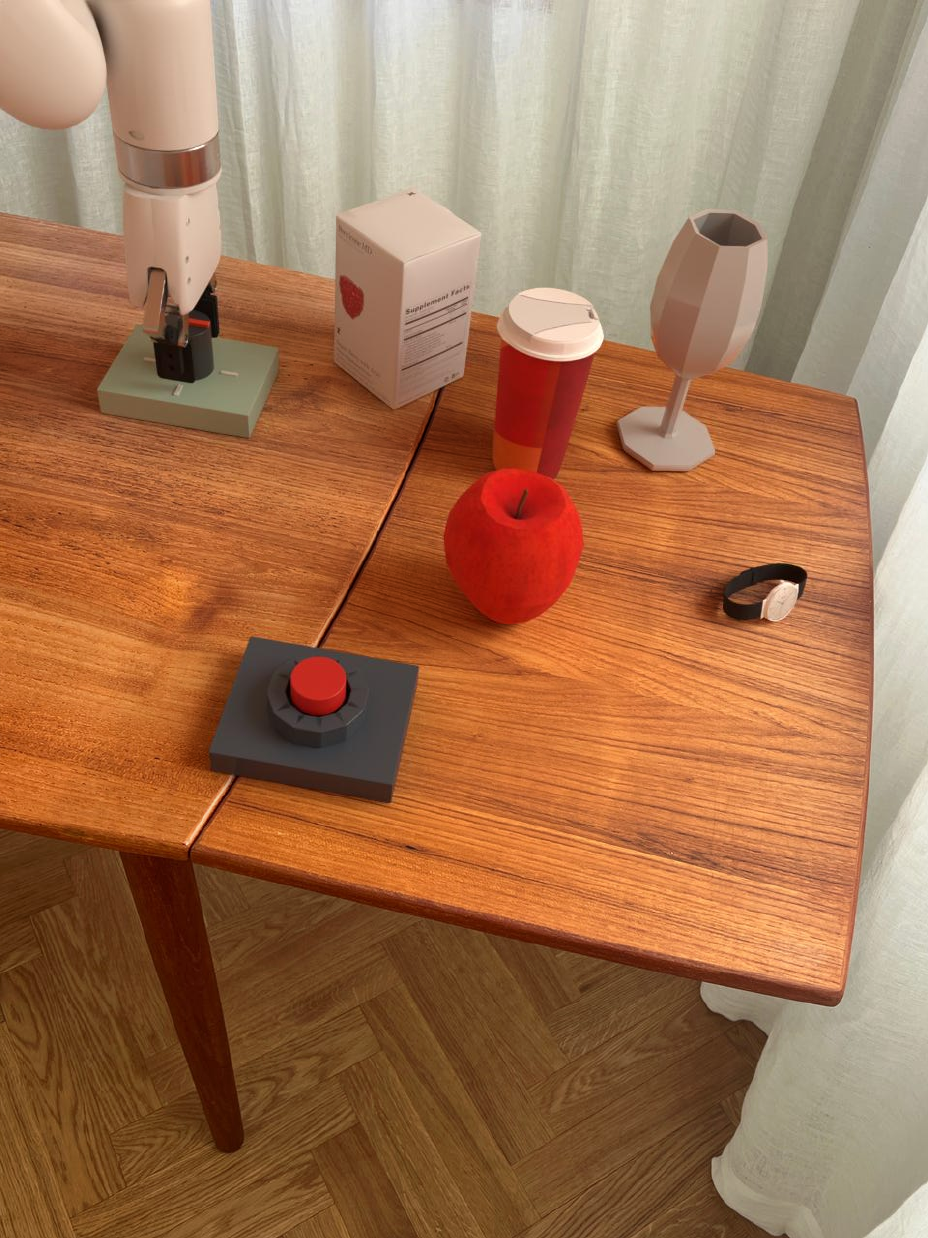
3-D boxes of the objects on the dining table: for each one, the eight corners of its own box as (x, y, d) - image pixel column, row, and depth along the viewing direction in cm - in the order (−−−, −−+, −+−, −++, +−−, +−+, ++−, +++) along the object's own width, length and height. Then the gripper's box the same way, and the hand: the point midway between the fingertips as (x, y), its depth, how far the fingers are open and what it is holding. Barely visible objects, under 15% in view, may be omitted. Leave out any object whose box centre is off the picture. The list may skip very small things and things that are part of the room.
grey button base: (210, 771, 73) (206, 735, 70) (251, 655, 79) (249, 618, 76) (391, 803, 72) (394, 769, 69) (417, 684, 79) (421, 648, 76)
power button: (284, 710, 72) (284, 694, 71) (298, 668, 74) (297, 651, 73) (339, 720, 72) (339, 704, 71) (350, 677, 74) (351, 661, 73)
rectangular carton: (330, 362, 103) (331, 211, 92) (403, 330, 107) (413, 183, 96) (392, 413, 99) (402, 262, 88) (467, 378, 103) (485, 230, 92)
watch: (742, 640, 85) (756, 608, 82) (702, 599, 87) (715, 567, 85) (814, 606, 88) (829, 574, 85) (773, 567, 91) (787, 535, 88)
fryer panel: (100, 413, 95) (96, 387, 93) (140, 346, 102) (136, 321, 100) (249, 438, 95) (248, 413, 93) (279, 370, 101) (278, 345, 99)
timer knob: (160, 377, 95) (154, 329, 91) (174, 350, 98) (169, 302, 94) (206, 384, 95) (202, 336, 91) (219, 357, 98) (215, 310, 94)
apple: (410, 603, 84) (421, 482, 75) (493, 540, 89) (513, 420, 80) (511, 677, 80) (535, 559, 71) (591, 606, 86) (624, 488, 77)
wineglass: (646, 484, 96) (710, 266, 80) (598, 422, 101) (650, 206, 85) (730, 463, 99) (807, 249, 83) (679, 404, 104) (743, 192, 88)
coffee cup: (561, 430, 100) (592, 282, 88) (583, 493, 94) (619, 344, 83) (469, 433, 98) (489, 283, 87) (486, 497, 93) (510, 346, 82)
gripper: (156, 94, 88) (178, 294, 101) (75, 200, 76) (111, 409, 90) (250, 109, 88) (259, 308, 101) (182, 217, 76) (202, 425, 90)
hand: (189, 354), depth 95 cm, fingers open, 5 cm apart
